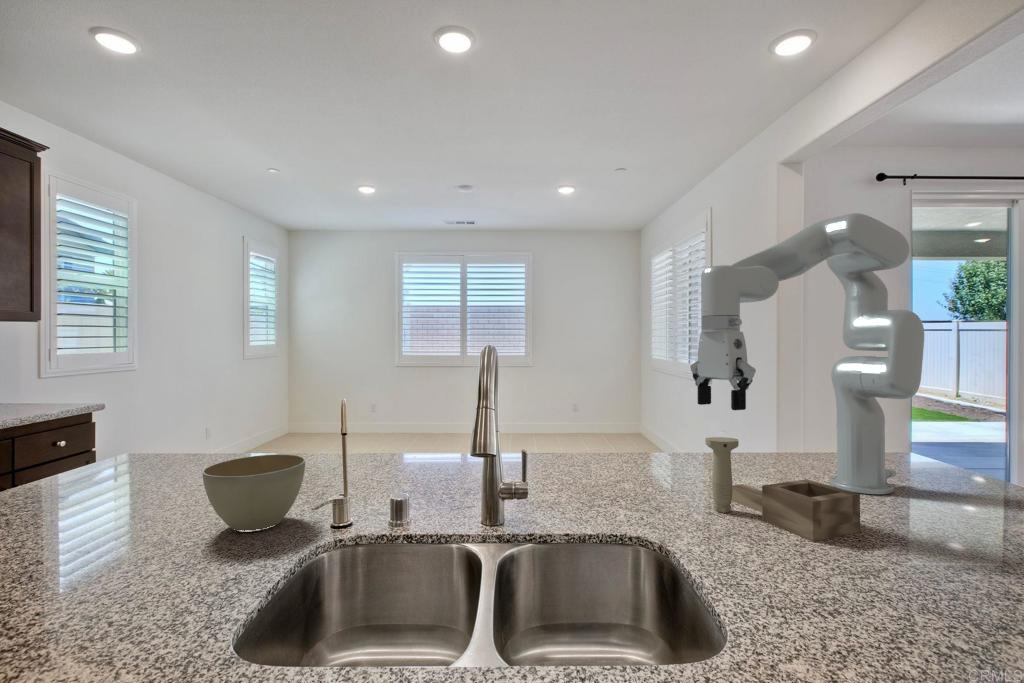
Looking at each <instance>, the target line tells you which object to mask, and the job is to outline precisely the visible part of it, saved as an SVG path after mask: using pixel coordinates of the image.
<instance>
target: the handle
mask: <svg viewBox="0 0 1024 683" xmlns="http://www.w3.org/2000/svg"><path fill="white" fill-rule="evenodd" d="M704 440H705V445H706V446H707V447H708V448H710V449H711V450H712V456H713V457H712V458H713V459H712V476H711V491H712V499H713V510H715V511H716V512H717V513H723V514H726V513H730V512H731V511H732V505H731V504H732V502H733V501H732V492H733V491H732V490H733V488H732V487H733V475H732V474H733V473H732V458H731V453H732V450H735V449H737V448H738V447H739V439H738V438H734V437H724V436H723V437H721V436H720V437H719V436H713V437H705V439H704Z"/></svg>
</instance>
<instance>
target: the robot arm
mask: <svg viewBox="0 0 1024 683" xmlns="http://www.w3.org/2000/svg"><path fill="white" fill-rule="evenodd" d="M909 254H910V245H909V241H908V240H907V238H906V237H905V235H903V233H902V232H900V230H897V229H895V228H893V227H891V226H890V225H888V224H886V223H885V222H882V221H880V219H879V220H878V219H876V218H874V217H872V216H870V215H868V214H867V215H866V214H864V213H859V212H858V213H857V212H853V213H847V214H843V215H840V216H836V217H831V218H828V219H823V220H820V221H817V222H815V223H812V224H811V225H808V226H807V227H805V228H804V229H801V230H800V231H798V232H797V233H795V234H793V235H791V236H790V237H788V238H786V239H784V240H782V241H781V242H779V243H777V244H775V245H773V246H770V247H767V248H765V249H763V250H761V251H759V252H756V253H755V254H752V255H750V256H747V257H745V258H742V259H740V260H739V261H736V262H735V263H733V264H731V265H729V264H727V265H723V264H721V265H713V266H712V265H711V266H708V267H705V268H704V269H703V270H702V271H701V275H700V296H701V297H700V298H701V299H700V301H701V302H700V306H701V308H700V310H701V312H700V314H701V315H700V317H701V321H700V322H701V325H700V326H701V327H700V328H701V332H700V334H699V341H698V347H697V348H698V349H697V360H695V362H694V363H692V364H691V365H690V370H691V371H690V372H691V373H692V378H693V380H694V382H695V386H696V387H697V404H698V405H700V406H701V405H703V406H704V405H711V404H712V386H711V385H710V383H711V382H712V381H713V380H719V381H720V380H721V381H728V382H729V383H730V385H731V387H732V389H731V390H730V399H731V400H730V407H731V408H730V409H731V410H732V411H744V410H746V408H747V392H746V391H748V390H749V388H750V385H751V384H752V383H753V379H754V377H755V374H756V372H757V371H756V368H755V367H753V366H752V365H750V364H749V363H748V352H747V345H746V340H745V334H744V332H743V331H741V325H742V324H743V322H742V319H741V304H742V303H755V302H756V303H757V302H762V301H766V300H769V299H770V298H772V297H773V296H774V295H775V294H776V292H777V291H778V289H779V285H780V284H779V283H780V282H783V281H787V280H791V279H792V278H795V277H796V278H797V277H798V276H801V275H803V274H805V273H806V272H808V271H809V270H811V269H813V268H814V267H816V266H817V265H819V264H821V263H822V262H824V261H826V265H827V266H828V268H829V270H830V271H831V272H832V274H834V276H836V278H837V280H838V281H839V282H840V284H841V285H842V288H843V291H844V294H845V300H844V312H843V314H844V315H843V325H842V340H843V344H844V346H846V348H849V349H851V350H854V351H862V352H863V351H865V352H866V351H867V352H887V356H874V355H873V356H872V355H871V356H870V355H868V356H867V355H852V356H851V355H850V356H846V357H843V358H841V359H839V360H837V361H835V363H834V364H833V366H832V368H831V374H830V377H831V383H832V386H833V387H832V388H833V390H834V395H835V396H834V397H835V401H836V402H835V403H836V404H835V405H836V406H835V407H836V468H837V471H836V474H837V475H836V476H832V477H830V478H829V483H830V486H832V487H836V488H839V489H843V490H847V491H850V492H854V493H857V494H865V495H889V494H892V493H893V492H894V491H895V490H894V488H895V487H894V485H893V484H891V483H889V482H888V480H887V479H890V478H895V477H896V475H897V472H896V470H895V469H893V468H889V469H887V468H886V437H885V436H886V435H885V434H886V428H885V427H886V422H885V421H886V418H885V412H884V410H883V408H882V406H881V405H880V403H879V401H878V400H877V399H876V398H881V399H891V400H908V399H910V398H913V397H914V396H916V394H917V393H918V391H919V389H920V386H921V380H922V373H923V372H922V371H923V360H924V348H925V328H924V324H923V321H922V320H921V318H920V317H919V315H918V314H917V313H915V312H914V311H911V310H907V309H891V310H890V309H888V304H889V303H888V302H889V291H888V288H887V286H886V284H885V283H884V282H883V280H882V279H881V278H880V277H879V276H878V275H877V274H876V273H875V272H877V271H884V270H892V269H895V268H898V267H901V266H902V265H903V264H904V263H906V262H907V260H908V258H909Z"/></svg>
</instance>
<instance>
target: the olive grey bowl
mask: <svg viewBox="0 0 1024 683" xmlns="http://www.w3.org/2000/svg"><path fill="white" fill-rule="evenodd" d="M305 469H306V458H305V457H303V456H302V455H301V456H300V455H296V454H284V453H283V454H282V453H281V454H280V453H279V454H277V453H275V454H263V455H261V454H260V455H252V456H245V457H239V458H232V459H229V460H225V461H224V460H223V461H221V462H217V463H213V464H211V465H209V466H206V467H205V468H203V470H202V481H203V486H204V489H205V493H206V495H207V498H208V501H209V502H210V505H211V507H212V508H213V510H214V512H215V513H216V514H217V515H218V517H219V518H220V519H221V520H222V521H223V522H224V524H226V525H227V526H228V527H229V528H230V529H231V528H232V529H231V530H233V529H235V530H244V531H245V530H256V529H263V528H267V527H270V526H273V525H276V524H278V523H279V522H280V523H281V522H282V521H283V519H284V518H285V517H286V515H287V514H288V512H289V511H290V510H291V508H292V507H293V506H294V503H295V501H296V500H297V497H298V495H299V493H300V489H301V487H302V484H303V479H304V475H305ZM280 523H279V524H280ZM279 524H278V525H279ZM276 526H277V525H276Z"/></svg>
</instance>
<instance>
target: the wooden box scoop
mask: <svg viewBox="0 0 1024 683" xmlns="http://www.w3.org/2000/svg"><path fill="white" fill-rule="evenodd" d="M732 485H733V484H732ZM761 487H762V488H761V489H758V488H757V487H756V488H755V487H752V486H749V485H747V484H743V483H742V484H741V483H740V484H735V485H733V487H732V488H733V490H732V491H733V492H732V502H735V503H738V504H740V503H741V504H740V505H742V504H743V506H745V507H747V506H748V508H750V509H752V510H755V509H756V510H755V511H758V512H761V513H762V514H761V515H762V517H761V518H762V520H761V522H764V521H765V522H764V523H767V522H768V523H767V524H769V523H770V524H769V525H771V524H772V526H774V525H775V526H774V527H776V526H777V528H779V529H780V530H781V529H782V530H784V531H787V532H789V533H790V534H793V535H796V536H799V537H801V538H804V539H806V540H809V541H811V542H816V541H817V540H818V541H823V540H827V539H832V537H833V538H836V537H842V535H843V536H848V535H853V534H858V533H861V493H857V492H851V491H847V490H843V489H839V488H837V487H834V486H833V485H828V484H825V483H822V482H818V481H814V480H811V479H801V480H792V481H785V482H777V483H770V484H763V485H761Z"/></svg>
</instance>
